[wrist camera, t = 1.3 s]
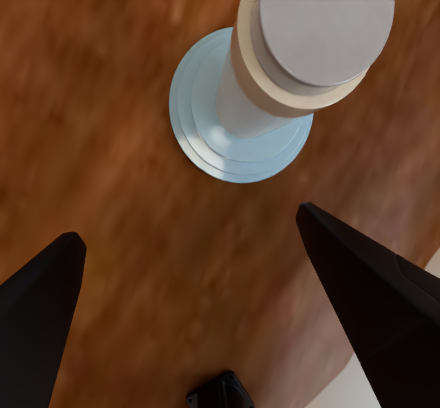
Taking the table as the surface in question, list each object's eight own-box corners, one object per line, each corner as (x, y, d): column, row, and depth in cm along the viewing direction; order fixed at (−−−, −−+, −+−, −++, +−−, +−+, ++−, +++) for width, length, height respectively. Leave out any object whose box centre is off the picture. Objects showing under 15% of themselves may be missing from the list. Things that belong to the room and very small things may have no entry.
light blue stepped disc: (328, 142, 23) (348, 139, 20) (213, 206, 23) (216, 212, 20) (273, 5, 20) (286, -23, 17) (141, 76, 20) (132, 60, 17)
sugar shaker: (293, 119, 19) (427, 53, 8) (234, 151, 19) (289, 129, 8) (264, 51, 18) (376, -135, 7) (201, 85, 18) (211, -48, 7)
